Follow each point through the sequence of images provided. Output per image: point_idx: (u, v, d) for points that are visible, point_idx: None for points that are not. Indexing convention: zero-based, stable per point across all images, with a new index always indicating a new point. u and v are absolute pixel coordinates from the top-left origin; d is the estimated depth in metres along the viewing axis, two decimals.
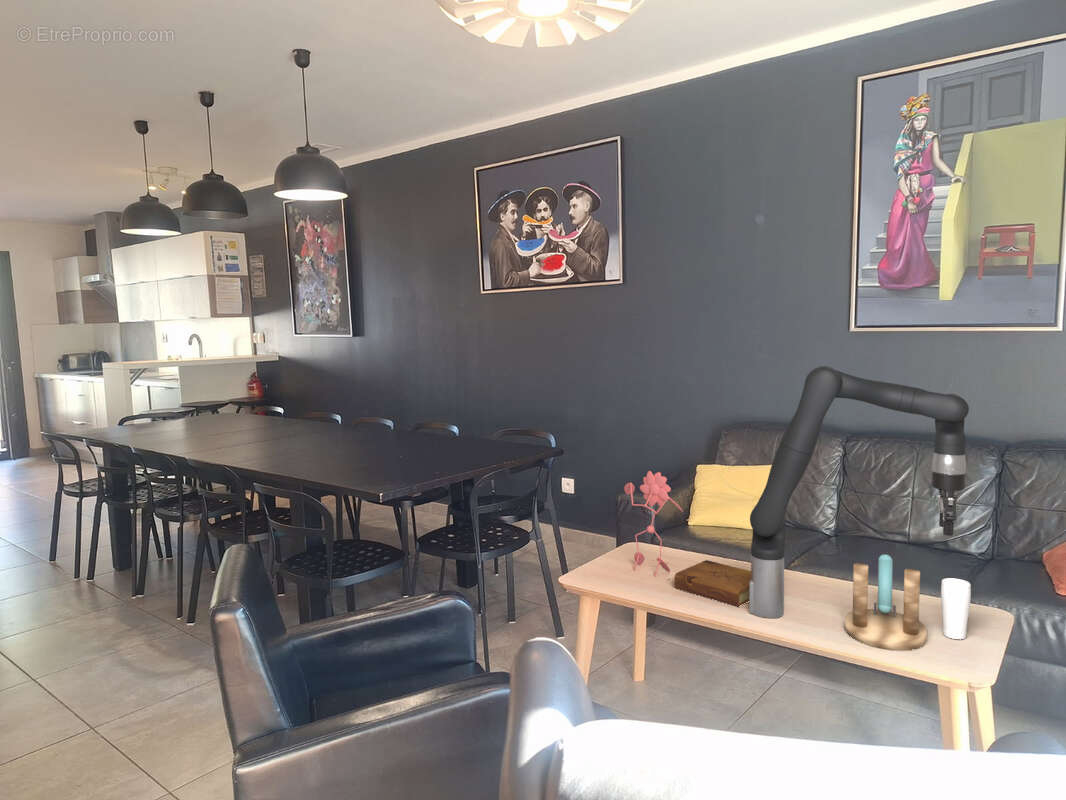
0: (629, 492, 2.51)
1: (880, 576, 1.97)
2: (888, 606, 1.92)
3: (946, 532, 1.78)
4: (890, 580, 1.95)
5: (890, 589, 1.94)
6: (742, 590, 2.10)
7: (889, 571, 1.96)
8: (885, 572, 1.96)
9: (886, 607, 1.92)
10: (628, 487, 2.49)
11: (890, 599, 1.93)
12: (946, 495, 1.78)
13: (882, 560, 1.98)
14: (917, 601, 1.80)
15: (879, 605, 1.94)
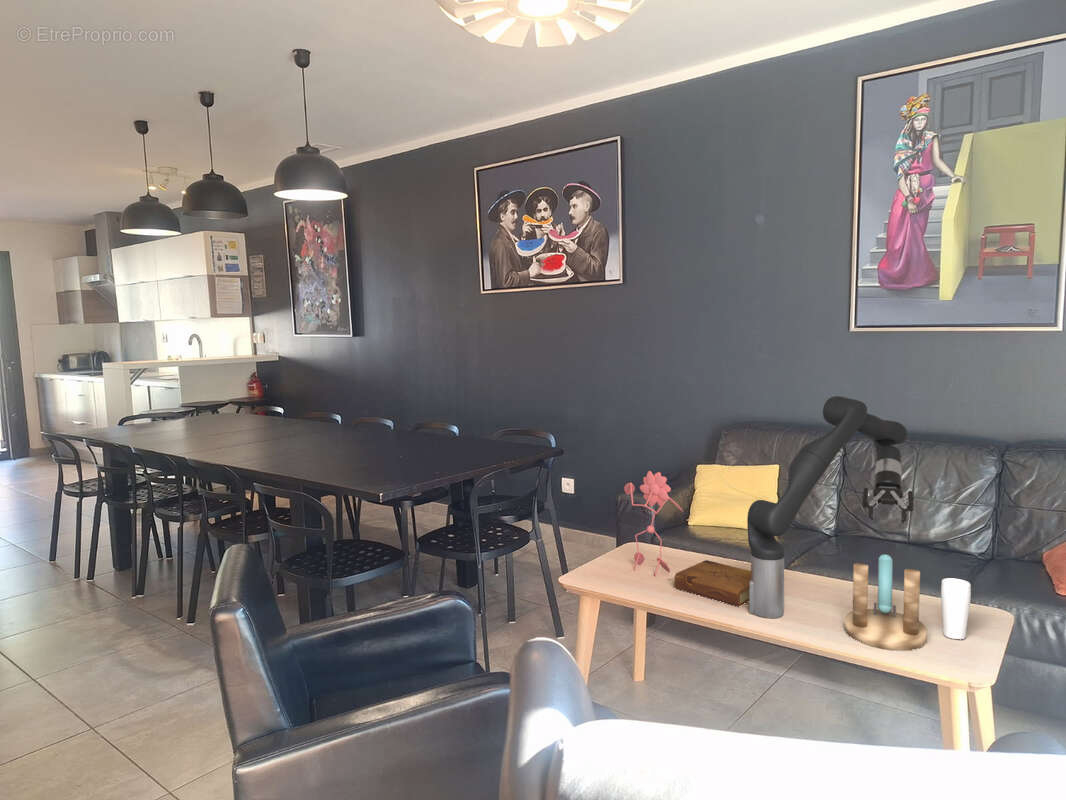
0: (629, 492, 2.51)
1: (880, 576, 1.97)
2: (888, 606, 1.92)
3: (906, 518, 2.11)
4: (890, 580, 1.95)
5: (890, 589, 1.94)
6: (742, 590, 2.10)
7: (889, 571, 1.96)
8: (885, 572, 1.96)
9: (886, 607, 1.92)
10: (628, 487, 2.49)
11: (890, 599, 1.93)
12: (901, 491, 2.17)
13: (882, 560, 1.98)
14: (917, 601, 1.80)
15: (879, 605, 1.94)
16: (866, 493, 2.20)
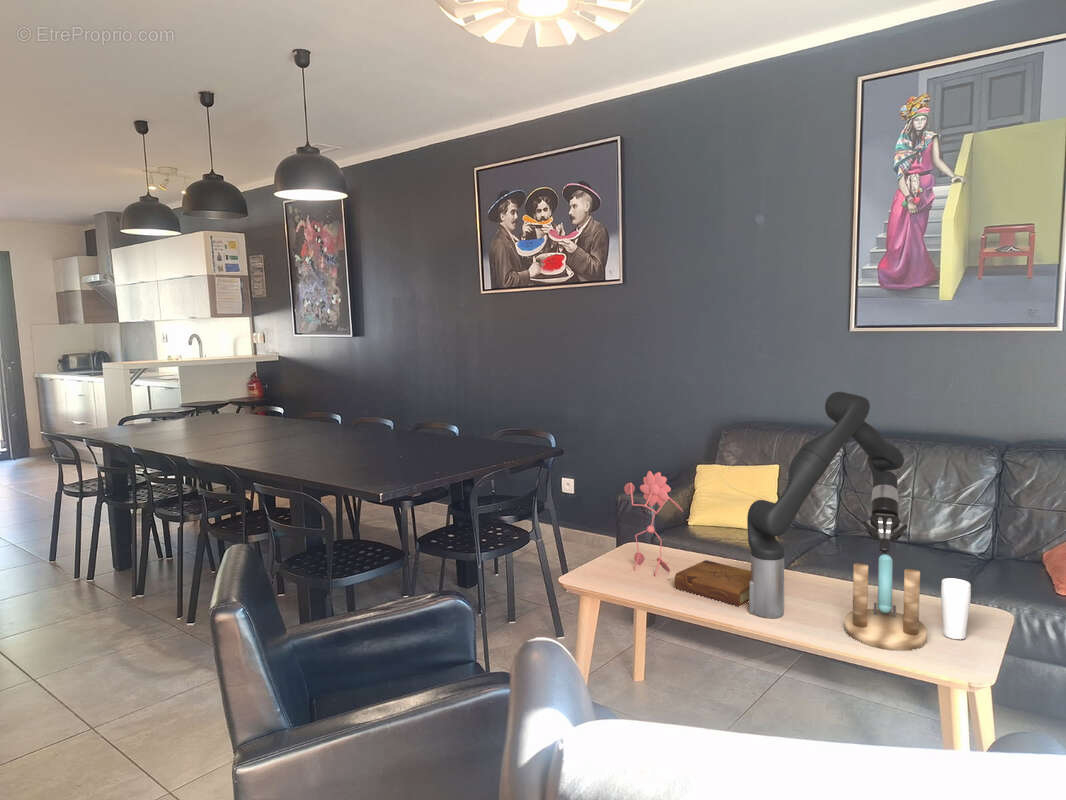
0: (629, 492, 2.51)
1: (880, 576, 1.97)
2: (888, 606, 1.92)
3: (889, 548, 2.07)
4: (890, 580, 1.95)
5: (890, 589, 1.94)
6: (743, 590, 2.10)
7: (889, 571, 1.96)
8: (885, 572, 1.96)
9: (886, 607, 1.92)
10: (628, 487, 2.49)
11: (890, 599, 1.93)
12: (899, 521, 2.11)
13: (882, 560, 1.98)
14: (917, 601, 1.80)
15: (879, 605, 1.94)
16: (868, 525, 2.13)
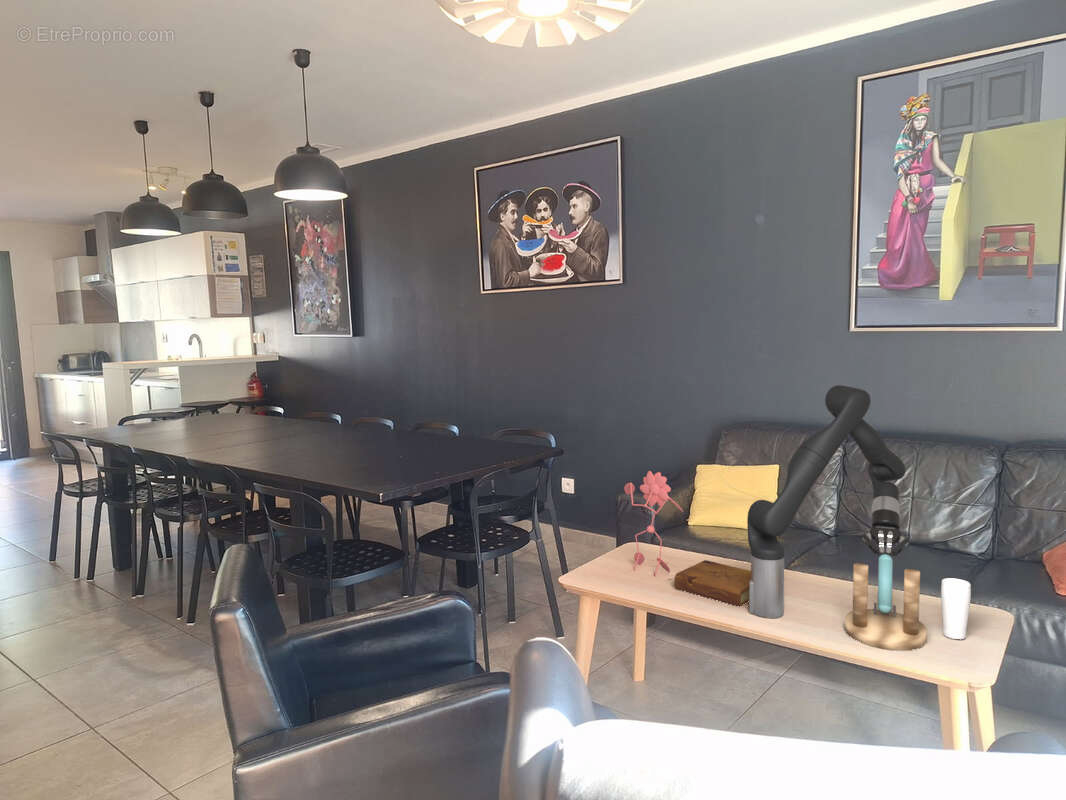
0: (629, 492, 2.51)
1: (880, 576, 1.97)
2: (888, 606, 1.92)
3: None
4: (890, 580, 1.95)
5: (890, 589, 1.94)
6: (743, 590, 2.10)
7: (889, 571, 1.96)
8: (885, 572, 1.96)
9: (886, 607, 1.92)
10: (628, 487, 2.49)
11: (890, 599, 1.93)
12: (901, 534, 2.04)
13: (882, 560, 1.98)
14: (917, 601, 1.80)
15: (879, 605, 1.94)
16: (868, 539, 2.06)
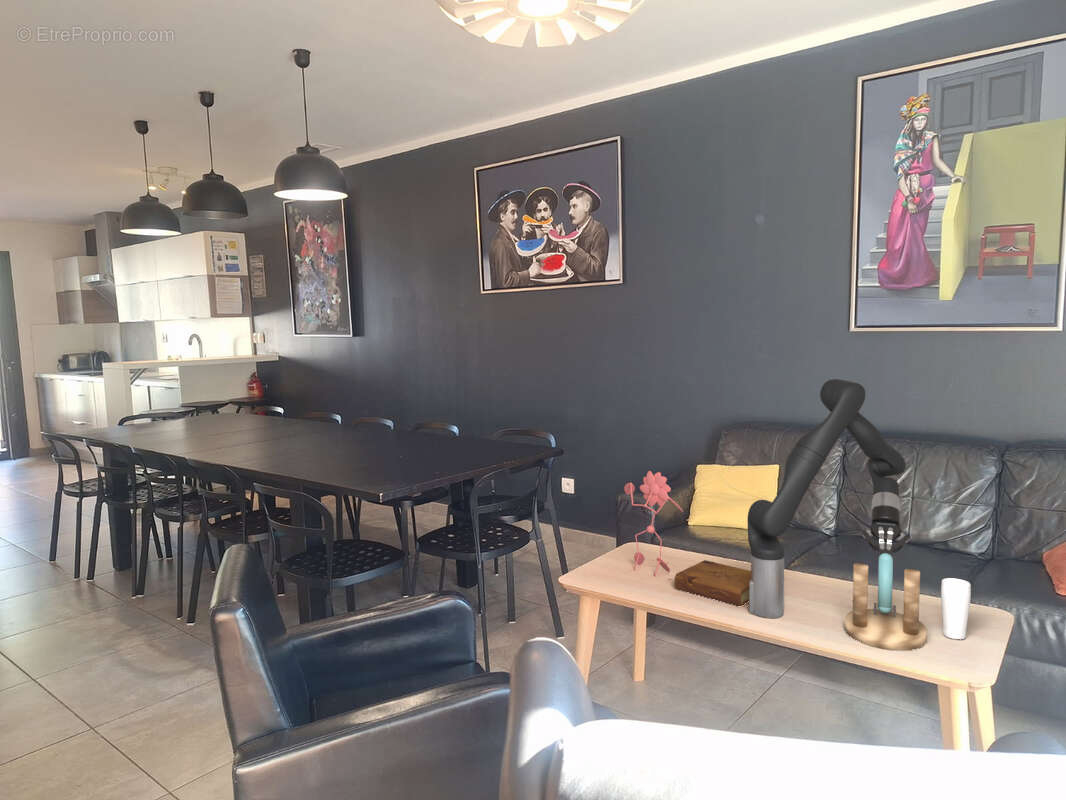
0: (629, 492, 2.51)
1: (880, 577, 1.94)
2: (888, 607, 1.92)
3: None
4: (890, 581, 1.93)
5: (890, 590, 1.93)
6: (744, 590, 2.10)
7: (889, 572, 1.93)
8: (885, 573, 1.93)
9: (886, 609, 1.92)
10: (628, 487, 2.49)
11: (890, 600, 1.93)
12: (901, 530, 2.01)
13: (882, 561, 1.94)
14: (917, 601, 1.80)
15: (879, 606, 1.94)
16: (868, 535, 2.03)
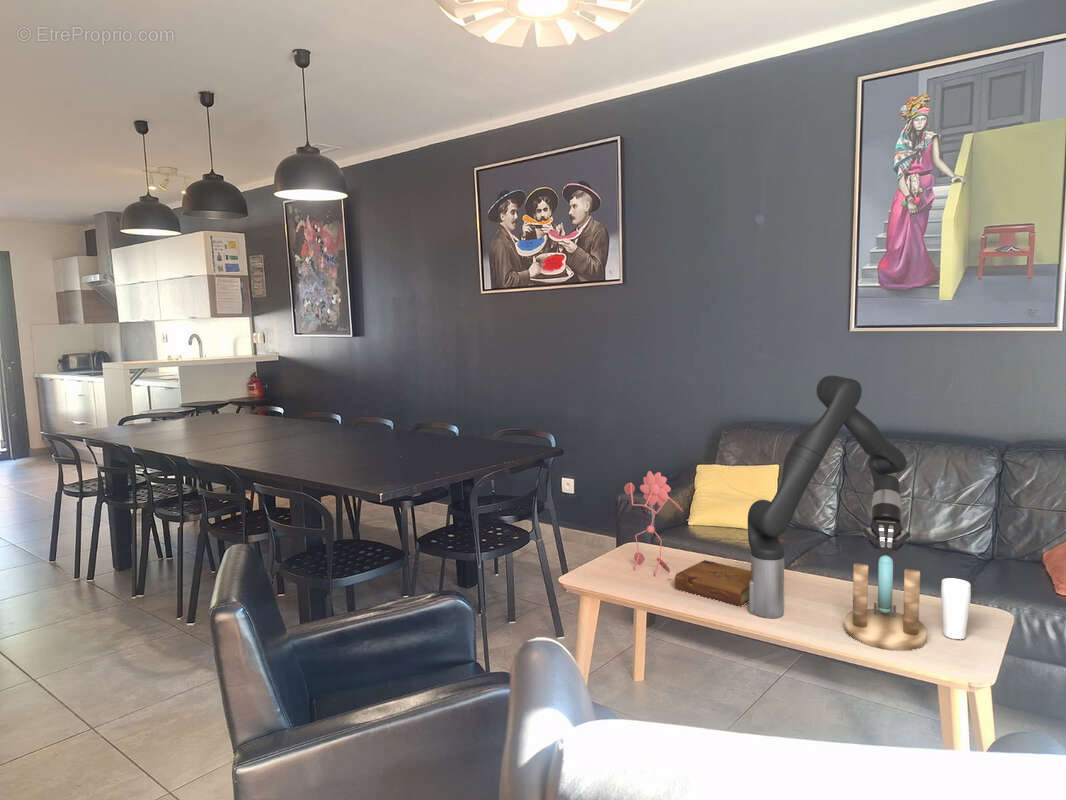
0: (629, 492, 2.51)
1: (880, 579, 1.93)
2: (888, 609, 1.92)
3: None
4: (890, 583, 1.92)
5: (890, 592, 1.92)
6: (744, 590, 2.10)
7: (889, 575, 1.91)
8: (885, 577, 1.91)
9: (886, 610, 1.92)
10: (628, 487, 2.49)
11: (890, 602, 1.92)
12: (902, 528, 1.98)
13: (882, 565, 1.91)
14: (917, 601, 1.80)
15: (879, 607, 1.94)
16: (868, 533, 2.00)
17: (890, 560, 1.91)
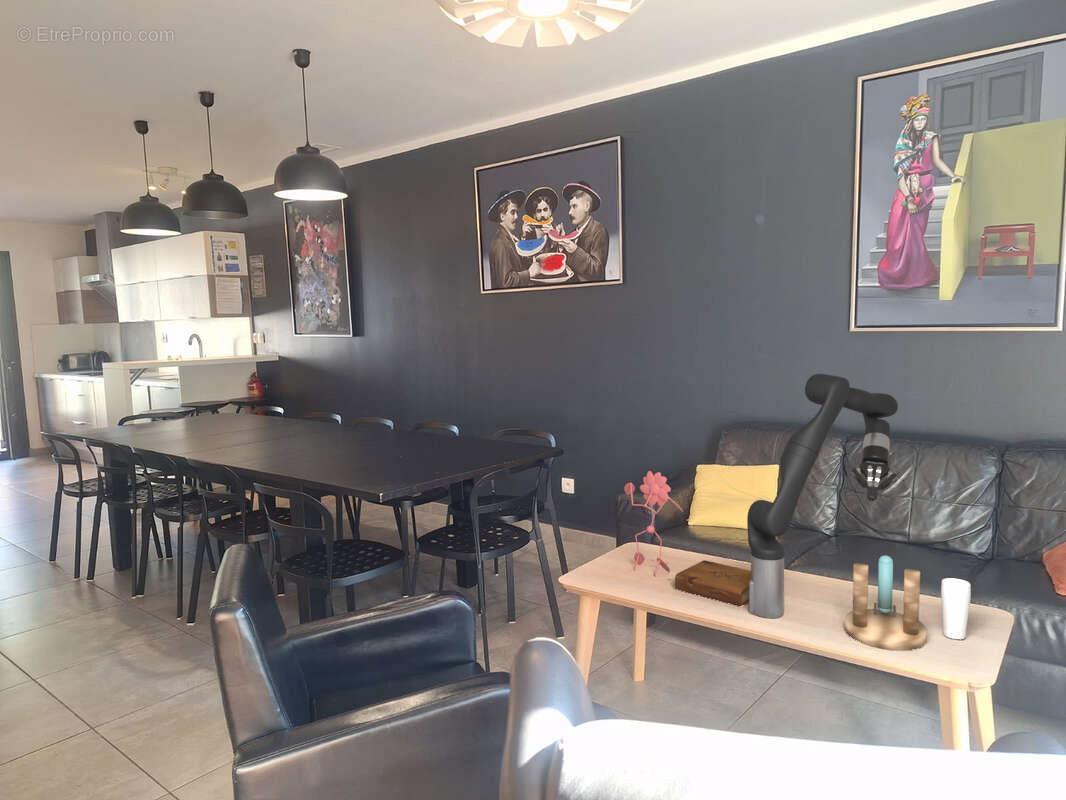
0: (629, 492, 2.51)
1: (880, 579, 1.93)
2: (888, 609, 1.92)
3: (876, 496, 2.08)
4: (890, 583, 1.92)
5: (890, 592, 1.92)
6: (744, 590, 2.10)
7: (889, 575, 1.91)
8: (885, 577, 1.91)
9: (886, 610, 1.92)
10: (628, 487, 2.49)
11: (890, 602, 1.92)
12: (889, 469, 2.11)
13: (882, 565, 1.91)
14: (917, 601, 1.80)
15: (879, 607, 1.94)
16: (858, 473, 2.13)
17: (890, 560, 1.91)
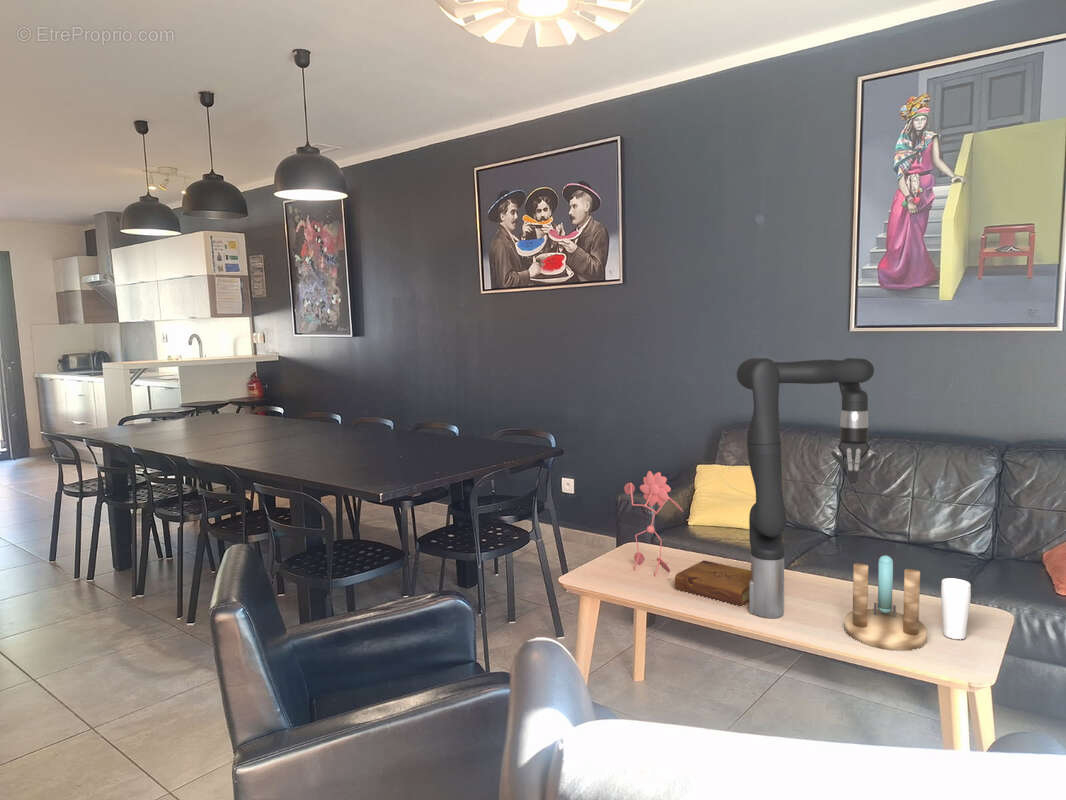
0: (629, 492, 2.51)
1: (880, 579, 1.93)
2: (888, 609, 1.92)
3: (857, 480, 2.06)
4: (890, 583, 1.92)
5: (890, 592, 1.92)
6: (745, 590, 2.10)
7: (889, 575, 1.91)
8: (885, 577, 1.91)
9: (886, 610, 1.92)
10: (628, 487, 2.49)
11: (890, 602, 1.92)
12: (869, 448, 2.04)
13: (882, 565, 1.91)
14: (917, 601, 1.80)
15: (879, 607, 1.94)
16: (837, 456, 2.08)
17: (890, 560, 1.91)
